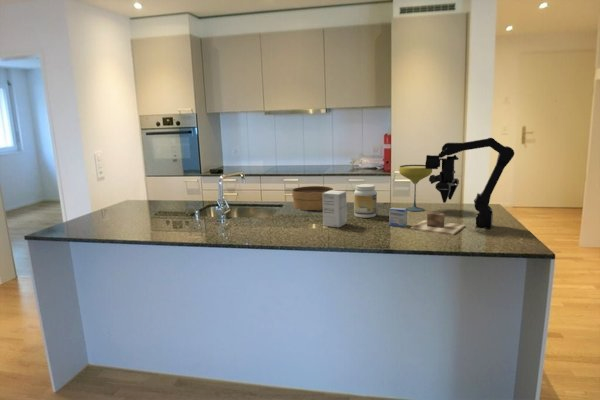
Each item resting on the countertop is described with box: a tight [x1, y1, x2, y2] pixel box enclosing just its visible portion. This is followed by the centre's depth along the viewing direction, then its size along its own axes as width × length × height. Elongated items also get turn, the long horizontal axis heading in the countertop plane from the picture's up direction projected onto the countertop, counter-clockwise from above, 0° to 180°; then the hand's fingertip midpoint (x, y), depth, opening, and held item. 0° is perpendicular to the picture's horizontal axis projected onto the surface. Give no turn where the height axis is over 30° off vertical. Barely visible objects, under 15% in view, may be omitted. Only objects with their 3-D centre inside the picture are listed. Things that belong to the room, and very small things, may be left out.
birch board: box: [410, 219, 466, 236], centre depth 202 cm, size 20×18×1 cm
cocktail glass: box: [398, 164, 433, 213], centre depth 241 cm, size 18×18×25 cm
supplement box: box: [322, 189, 348, 228], centre depth 212 cm, size 10×9×17 cm
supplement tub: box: [353, 183, 378, 219], centre depth 230 cm, size 12×12×17 cm
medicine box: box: [388, 207, 408, 228], centre depth 208 cm, size 8×4×9 cm, turn 62°
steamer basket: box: [291, 185, 334, 211], centre depth 259 cm, size 25×25×11 cm
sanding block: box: [426, 211, 446, 228], centre depth 202 cm, size 7×4×6 cm, turn 53°
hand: (447, 201), depth 205 cm, fingers open, 9 cm apart
